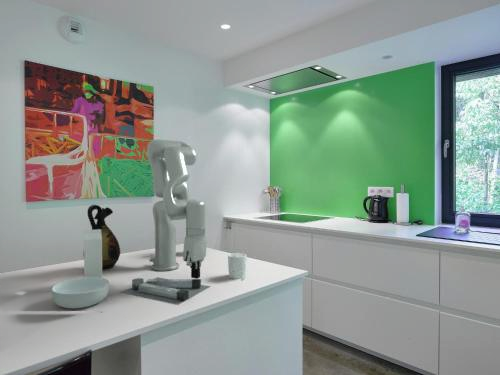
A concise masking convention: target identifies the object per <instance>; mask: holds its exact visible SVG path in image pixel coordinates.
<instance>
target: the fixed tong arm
mask: <svg viewBox="0 0 500 375" xmlns="http://www.w3.org/2000/svg"><path fill="white" fill-rule="evenodd" d="M139 292H144V293H149V294H154V295H159V296H164V297H169V298H174V299H177V300H181V301H184V302H186V301H187V299H188V298H189V291H187V290H179V289H174V288H168V287H163V286H157V285H152V284H146V283H142V284H139ZM185 300H186V301H185ZM188 300H189V299H188Z"/></svg>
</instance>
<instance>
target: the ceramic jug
mask: <svg viewBox="0 0 500 375" xmlns="http://www.w3.org/2000/svg"><path fill="white" fill-rule="evenodd" d="M95 210H96V211H97V212H96V213H95V216H94V215H93V212H94V211H95ZM113 213H114V212H113V210H112V208H110V207H108V206H107V207H105V208H104V207H101V206H100V205H97V204H92V205H90V206H89V207H88V208H87V217H88V220H89V223H90V226H91V230H97V229H101V235H102V271H106V270H111V269H113V268H114V267H115V266H116V265H117V262H118V261H119V259H120V256H121V246H120V243H119V241H118V239H117V237H116V235H115V234H114V233H113V231H112V230H111V229H110V228H109V226H108V225H107V223H106V220H105V219H106V218H107V217H109V216H110V215H112V214H113ZM95 220H96V221H95ZM83 257H84V252H83Z"/></svg>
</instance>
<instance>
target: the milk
mask: <svg viewBox="0 0 500 375" xmlns="http://www.w3.org/2000/svg"><path fill="white" fill-rule="evenodd" d="M83 233H84V234H83V253H84V256H83V261H84V262H83V263H84V264H83V265H84V266H83V269H84V270H83V272H84V277H100V278H103V270H102V235H101V229H97V230H92V229H86V230H84V232H83Z"/></svg>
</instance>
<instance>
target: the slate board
mask: <svg viewBox="0 0 500 375" xmlns="http://www.w3.org/2000/svg"><path fill="white" fill-rule="evenodd" d="M153 279H165V278H164V277H155V278H153ZM144 283H146V281H144ZM210 287H211V286H209V285H204V284H201V287H200V288H174V289H179V290H187V291H189V298H188V299H187V300H189V299H192V298H193V297H195V296H196V295H198V294H200V293H202V292H204V291H206V290H208V289H209V288H210ZM119 294H125V295H128V296H132V297H136V298H137V297H139V298H143V299H148V300H153V301H157V302H163V303H167V304H171V305H177V306H178V305H180V304H182V303H184V302H186V301H187V300H185V301H181V300H177V299H174V298H169V297H164V296H159V295H154V294H149V293H144V292H139V290H134V289H132V287H130V288H127V289H125V290H122V291H120V292H119Z"/></svg>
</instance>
